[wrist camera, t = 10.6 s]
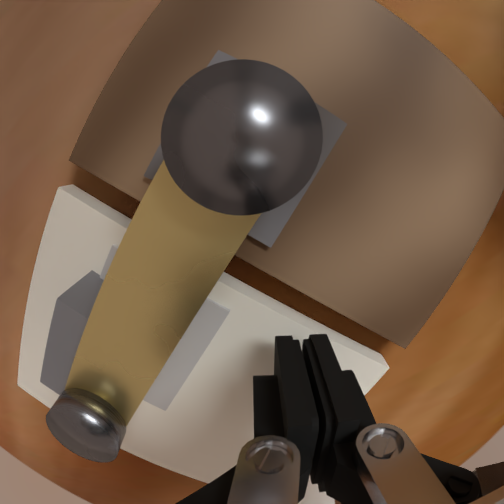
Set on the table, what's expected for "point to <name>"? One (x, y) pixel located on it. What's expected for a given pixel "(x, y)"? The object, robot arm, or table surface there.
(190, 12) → the strip
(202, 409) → the door leaf
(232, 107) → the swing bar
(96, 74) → the table surface
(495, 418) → the table surface
